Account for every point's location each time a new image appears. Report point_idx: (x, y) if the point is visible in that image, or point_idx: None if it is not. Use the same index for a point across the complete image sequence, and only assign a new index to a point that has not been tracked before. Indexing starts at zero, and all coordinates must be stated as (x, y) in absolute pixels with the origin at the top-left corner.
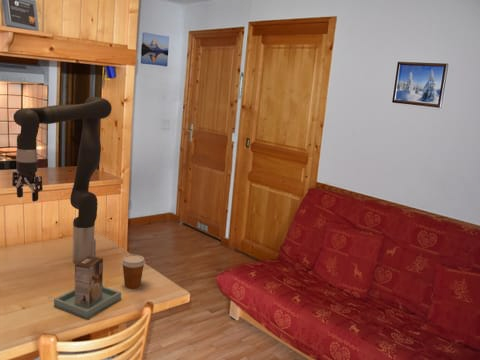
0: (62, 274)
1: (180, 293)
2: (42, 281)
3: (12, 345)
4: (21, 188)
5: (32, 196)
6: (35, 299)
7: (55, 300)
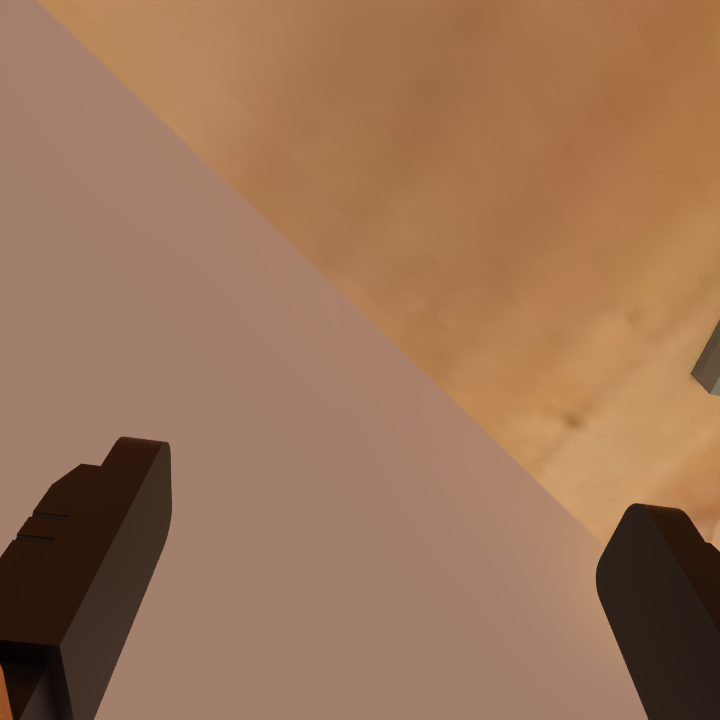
0: (568, 49)
1: None
2: (505, 194)
3: None
4: (64, 676)
5: (649, 690)
6: (579, 356)
7: (716, 393)
